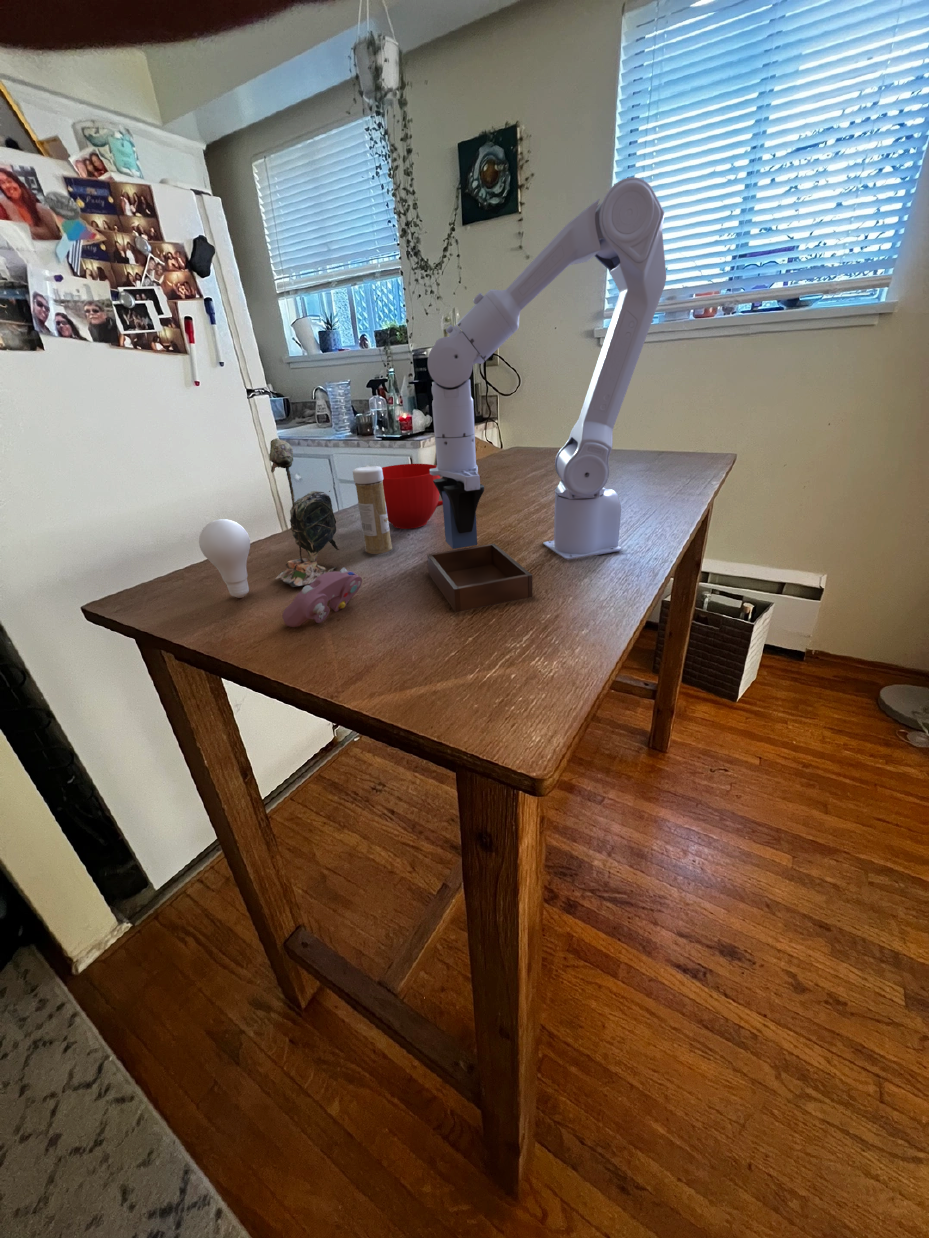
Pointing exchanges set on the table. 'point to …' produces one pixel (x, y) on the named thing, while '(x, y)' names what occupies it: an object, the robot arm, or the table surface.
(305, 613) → the video game controller
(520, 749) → the table surface
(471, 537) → the peg
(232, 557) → the lightbulb
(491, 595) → the box
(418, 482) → the ceramic cup
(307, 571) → the ostrich figurine
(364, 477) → the sprinkles bottle
